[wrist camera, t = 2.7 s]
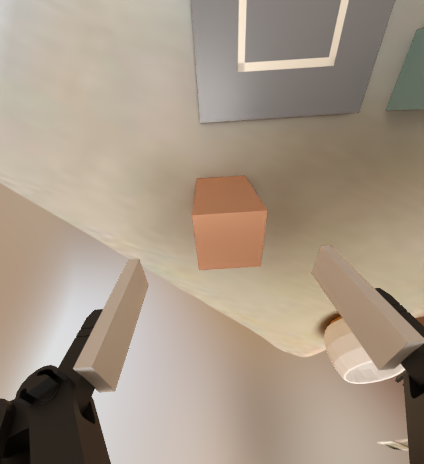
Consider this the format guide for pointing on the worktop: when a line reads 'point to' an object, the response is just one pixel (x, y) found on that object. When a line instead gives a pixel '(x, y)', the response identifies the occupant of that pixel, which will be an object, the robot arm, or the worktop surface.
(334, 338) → the cup
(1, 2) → the worktop surface
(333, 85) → the base plate
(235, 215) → the terracotta block
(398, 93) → the teal block
